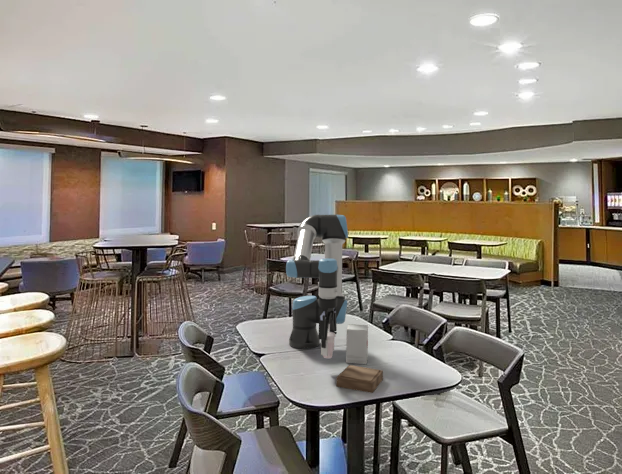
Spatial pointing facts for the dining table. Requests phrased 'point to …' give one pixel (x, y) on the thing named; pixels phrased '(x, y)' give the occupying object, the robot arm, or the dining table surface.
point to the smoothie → (330, 343)
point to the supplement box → (357, 344)
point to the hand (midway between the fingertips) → (327, 352)
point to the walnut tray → (359, 378)
